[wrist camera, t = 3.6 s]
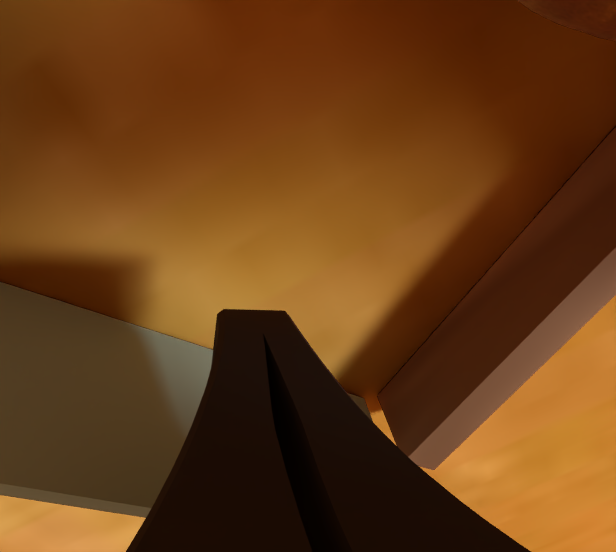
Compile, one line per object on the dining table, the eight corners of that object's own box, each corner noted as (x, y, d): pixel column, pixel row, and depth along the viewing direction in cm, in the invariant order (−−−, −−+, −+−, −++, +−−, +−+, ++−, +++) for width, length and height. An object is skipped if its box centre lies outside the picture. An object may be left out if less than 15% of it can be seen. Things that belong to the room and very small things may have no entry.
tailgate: (-65, 261, 12) (-195, 451, 8) (364, 398, 17) (421, 552, 13) (-69, 271, 12) (-199, 463, 8) (358, 404, 17) (414, 559, 13)
